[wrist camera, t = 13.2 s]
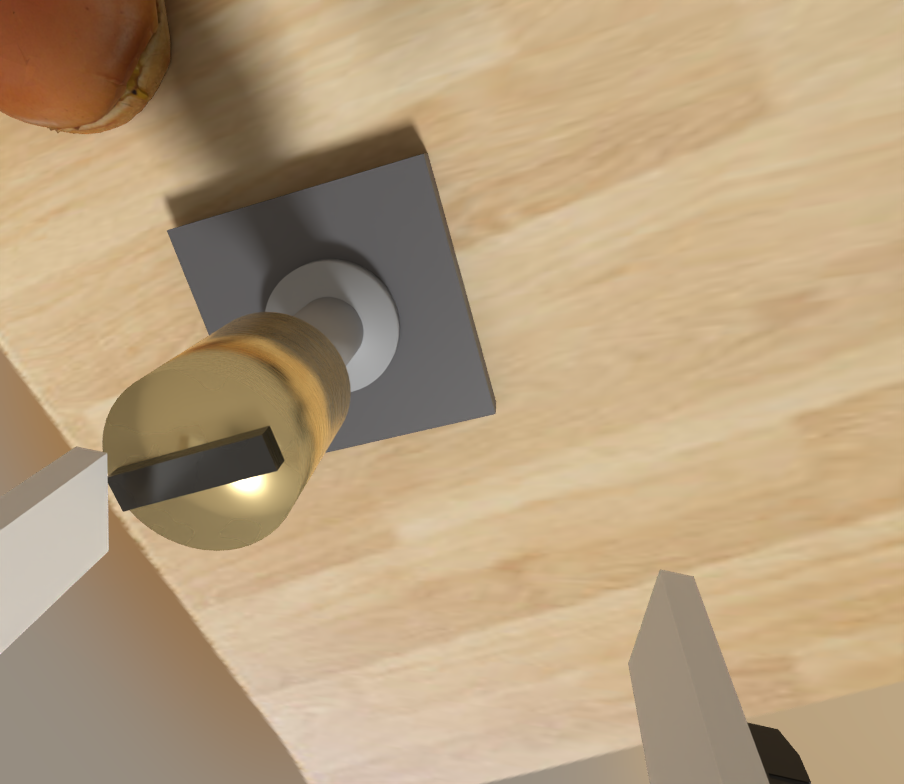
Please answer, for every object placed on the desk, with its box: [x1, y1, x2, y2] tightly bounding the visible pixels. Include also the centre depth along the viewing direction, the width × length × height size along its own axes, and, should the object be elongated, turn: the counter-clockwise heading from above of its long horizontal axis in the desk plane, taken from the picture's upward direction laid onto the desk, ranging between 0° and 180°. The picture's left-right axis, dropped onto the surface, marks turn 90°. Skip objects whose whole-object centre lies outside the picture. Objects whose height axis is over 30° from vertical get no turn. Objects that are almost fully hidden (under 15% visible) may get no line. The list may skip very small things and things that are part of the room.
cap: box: [102, 312, 351, 551], centre depth 20 cm, size 5×5×7 cm
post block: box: [167, 153, 496, 453], centre depth 28 cm, size 12×12×10 cm
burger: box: [0, 0, 171, 134], centre depth 27 cm, size 10×9×5 cm
